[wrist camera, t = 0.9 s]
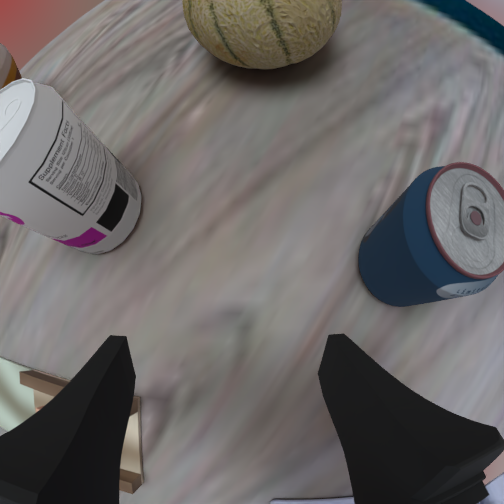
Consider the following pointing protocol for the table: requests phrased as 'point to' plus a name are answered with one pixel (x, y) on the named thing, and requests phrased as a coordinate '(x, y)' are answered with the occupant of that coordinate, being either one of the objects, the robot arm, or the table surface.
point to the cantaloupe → (262, 29)
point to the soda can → (437, 238)
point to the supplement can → (61, 173)
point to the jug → (7, 68)
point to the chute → (44, 390)
